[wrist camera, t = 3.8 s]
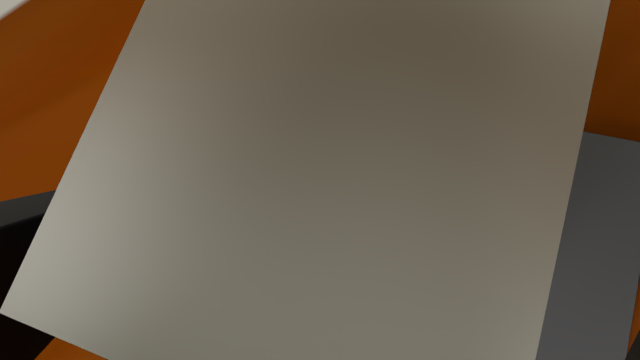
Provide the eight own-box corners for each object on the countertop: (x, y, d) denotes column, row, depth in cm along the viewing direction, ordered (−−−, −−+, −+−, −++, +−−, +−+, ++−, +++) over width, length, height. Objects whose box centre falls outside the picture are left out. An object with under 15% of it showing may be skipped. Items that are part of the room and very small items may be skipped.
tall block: (459, 397, 15) (501, 525, 4) (301, 340, 16) (-1, 312, 5) (498, 234, 16) (617, -36, 5) (347, 195, 17) (181, -77, 6)
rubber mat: (576, 610, 13) (581, 621, 13) (159, 420, 17) (150, 422, 17) (653, 153, 16) (661, 145, 16) (286, 82, 20) (281, 74, 20)
